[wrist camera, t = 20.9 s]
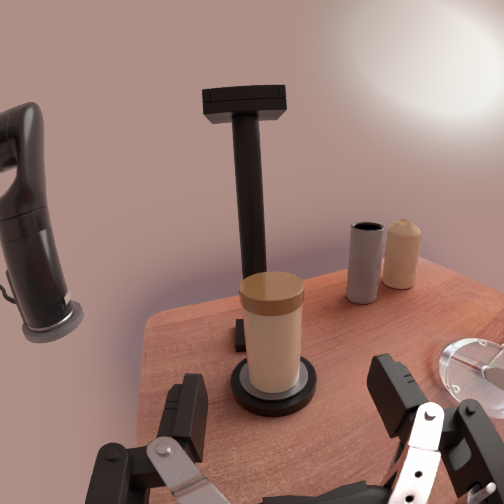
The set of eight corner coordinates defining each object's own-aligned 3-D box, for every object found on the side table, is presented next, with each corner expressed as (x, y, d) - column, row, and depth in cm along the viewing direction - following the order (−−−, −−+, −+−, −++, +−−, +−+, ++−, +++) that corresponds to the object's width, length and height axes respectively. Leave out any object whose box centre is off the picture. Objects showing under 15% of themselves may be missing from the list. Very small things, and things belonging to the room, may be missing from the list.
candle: (419, 288, 37) (428, 225, 34) (389, 291, 37) (397, 225, 34) (405, 273, 42) (411, 216, 39) (377, 275, 42) (382, 216, 39)
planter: (352, 306, 35) (359, 231, 31) (341, 291, 39) (345, 222, 35) (381, 302, 35) (390, 229, 31) (368, 287, 39) (374, 221, 36)
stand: (228, 357, 27) (201, 89, 19) (230, 322, 33) (211, 104, 25) (291, 352, 27) (285, 84, 19) (283, 318, 34) (275, 100, 25)
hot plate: (231, 419, 19) (229, 409, 19) (232, 361, 27) (231, 350, 26) (323, 411, 19) (325, 400, 19) (307, 355, 27) (308, 344, 26)
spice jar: (248, 396, 20) (238, 302, 17) (247, 360, 25) (239, 273, 22) (304, 391, 20) (310, 297, 17) (296, 356, 25) (298, 269, 22)
